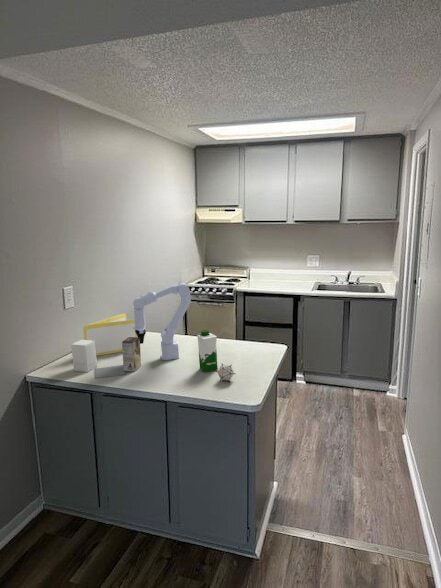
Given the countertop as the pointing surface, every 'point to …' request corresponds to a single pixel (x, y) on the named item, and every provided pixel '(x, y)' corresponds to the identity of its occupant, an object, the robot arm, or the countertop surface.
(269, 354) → the countertop surface
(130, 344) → the coffee box
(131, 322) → the yellow rectangular frame
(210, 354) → the milk carton
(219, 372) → the spiky ball ornament
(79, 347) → the supplement box
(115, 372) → the mat
